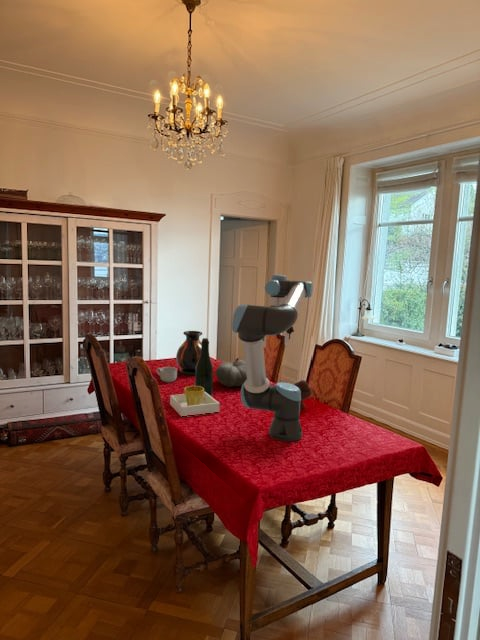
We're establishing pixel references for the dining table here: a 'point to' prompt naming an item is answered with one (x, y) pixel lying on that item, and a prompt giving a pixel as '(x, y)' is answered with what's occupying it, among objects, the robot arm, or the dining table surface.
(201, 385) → the beer bottle
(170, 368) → the teacup
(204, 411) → the bin
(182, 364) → the amphora vase
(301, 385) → the ice cream bowl
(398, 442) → the dining table surface
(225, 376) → the gourd
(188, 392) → the plant pot
